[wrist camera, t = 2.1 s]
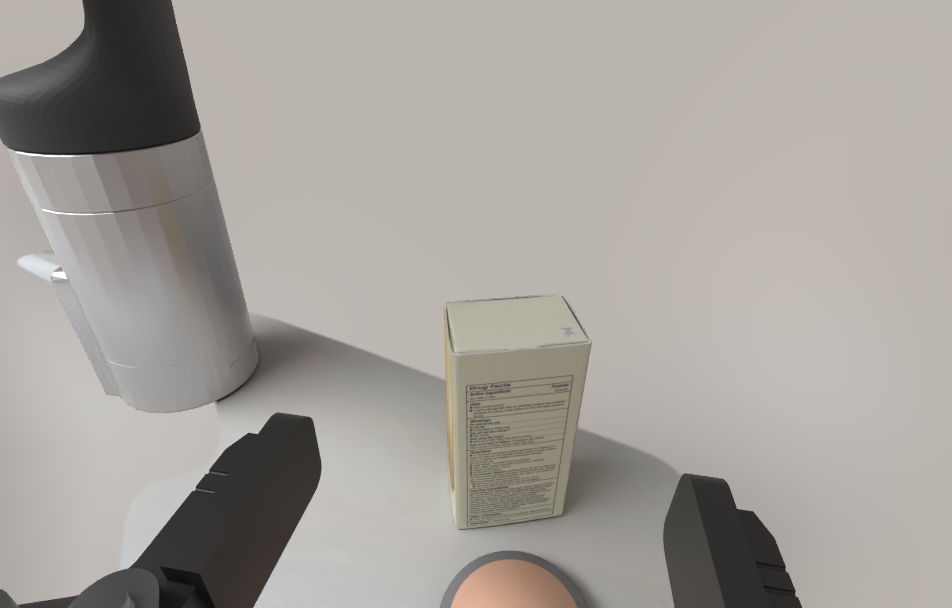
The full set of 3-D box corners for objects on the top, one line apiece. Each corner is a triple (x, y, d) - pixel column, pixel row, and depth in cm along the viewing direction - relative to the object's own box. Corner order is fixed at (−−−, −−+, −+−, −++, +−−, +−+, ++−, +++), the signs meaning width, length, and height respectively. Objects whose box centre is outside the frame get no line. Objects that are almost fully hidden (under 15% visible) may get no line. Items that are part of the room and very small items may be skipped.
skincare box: (543, 457, 30) (569, 290, 24) (564, 519, 27) (601, 341, 20) (441, 467, 30) (441, 296, 23) (449, 532, 26) (451, 351, 19)
